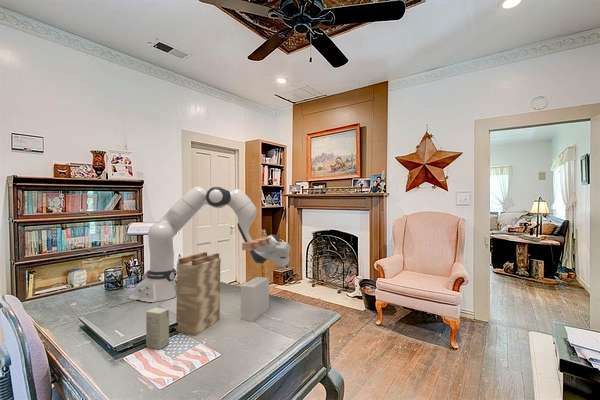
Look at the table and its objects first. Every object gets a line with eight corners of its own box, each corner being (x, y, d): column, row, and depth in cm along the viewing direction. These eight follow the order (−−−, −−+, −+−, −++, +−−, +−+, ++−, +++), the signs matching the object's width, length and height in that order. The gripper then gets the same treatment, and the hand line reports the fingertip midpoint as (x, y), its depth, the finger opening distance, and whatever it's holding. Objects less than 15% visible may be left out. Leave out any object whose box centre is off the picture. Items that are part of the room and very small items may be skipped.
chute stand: (201, 316, 122) (203, 252, 122) (219, 319, 119) (220, 253, 119) (176, 331, 108) (177, 258, 108) (195, 335, 105) (196, 260, 105)
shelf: (257, 307, 134) (257, 276, 134) (268, 309, 132) (269, 278, 132) (240, 319, 120) (241, 285, 120) (252, 321, 118) (253, 287, 118)
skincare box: (169, 343, 99) (170, 309, 99) (159, 350, 94) (160, 313, 95) (155, 340, 101) (155, 306, 101) (145, 346, 97) (145, 310, 97)
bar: (263, 243, 138) (263, 237, 138) (270, 243, 137) (271, 237, 137) (242, 250, 119) (242, 242, 119) (250, 250, 118) (250, 243, 118)
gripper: (257, 244, 150) (246, 233, 139) (293, 246, 143) (284, 235, 132) (254, 255, 147) (242, 245, 136) (291, 258, 140) (281, 248, 129)
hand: (263, 240), depth 134 cm, fingers closed on bar, 4 cm apart
